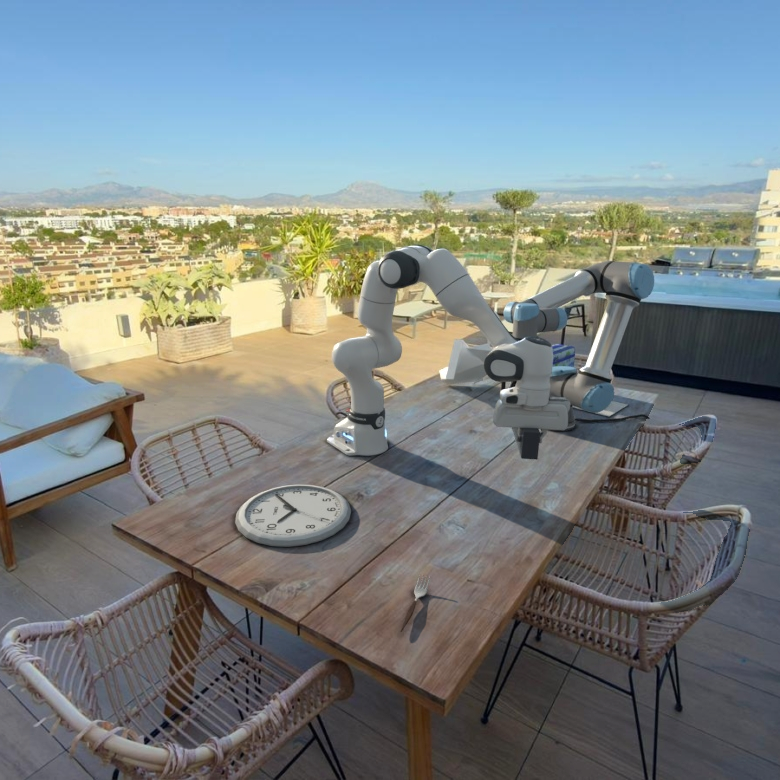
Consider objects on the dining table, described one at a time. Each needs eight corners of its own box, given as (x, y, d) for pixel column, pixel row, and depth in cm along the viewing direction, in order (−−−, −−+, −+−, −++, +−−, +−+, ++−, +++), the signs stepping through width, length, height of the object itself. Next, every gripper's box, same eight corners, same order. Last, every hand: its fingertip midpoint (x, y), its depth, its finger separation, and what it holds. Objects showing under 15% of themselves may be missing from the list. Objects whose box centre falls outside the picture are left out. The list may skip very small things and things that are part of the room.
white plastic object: (461, 429, 252) (437, 405, 227) (444, 352, 274) (420, 323, 250) (535, 404, 240) (518, 377, 215) (510, 326, 262) (492, 293, 237)
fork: (394, 632, 98) (394, 623, 98) (419, 581, 113) (419, 573, 112) (407, 636, 97) (407, 627, 97) (430, 584, 112) (431, 576, 111)
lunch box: (547, 396, 238) (552, 351, 232) (526, 391, 246) (531, 347, 239) (574, 385, 256) (579, 343, 250) (554, 380, 263) (559, 340, 257)
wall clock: (351, 538, 125) (223, 542, 122) (351, 544, 125) (223, 548, 123) (350, 480, 153) (246, 482, 151) (350, 485, 154) (246, 487, 151)
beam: (508, 416, 179) (510, 393, 177) (521, 416, 179) (523, 394, 177) (521, 458, 145) (523, 431, 143) (537, 459, 145) (540, 432, 142)
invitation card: (608, 416, 214) (573, 407, 224) (608, 416, 214) (573, 408, 224) (628, 404, 229) (594, 396, 238) (628, 405, 229) (594, 397, 238)
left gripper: (568, 394, 146) (563, 439, 151) (494, 390, 149) (491, 435, 153) (573, 401, 140) (567, 448, 145) (496, 397, 143) (492, 444, 147)
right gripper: (549, 350, 170) (541, 418, 177) (494, 348, 172) (489, 415, 179) (553, 356, 163) (545, 426, 170) (496, 354, 165) (490, 423, 172)
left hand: (527, 441), depth 149 cm, fingers closed on beam, 4 cm apart
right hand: (516, 420), depth 174 cm, fingers closed on beam, 4 cm apart
